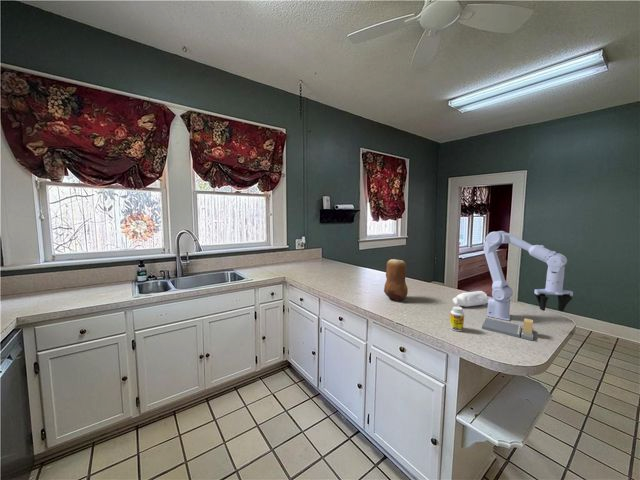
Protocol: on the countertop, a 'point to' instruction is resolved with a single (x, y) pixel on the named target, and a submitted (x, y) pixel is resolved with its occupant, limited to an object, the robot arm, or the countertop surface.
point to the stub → (527, 329)
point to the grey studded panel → (502, 327)
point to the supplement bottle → (457, 319)
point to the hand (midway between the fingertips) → (551, 310)
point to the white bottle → (471, 299)
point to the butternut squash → (396, 280)
